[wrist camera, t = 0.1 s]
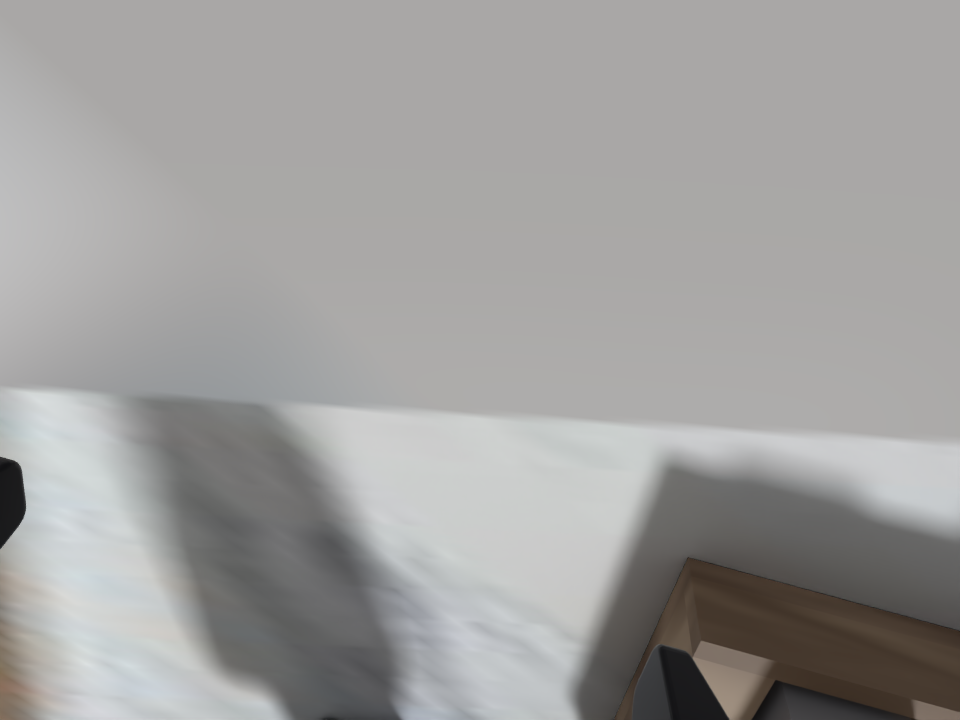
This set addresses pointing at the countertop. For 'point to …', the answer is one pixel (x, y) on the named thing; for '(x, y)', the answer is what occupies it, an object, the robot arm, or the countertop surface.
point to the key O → (815, 706)
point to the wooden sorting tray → (803, 646)
